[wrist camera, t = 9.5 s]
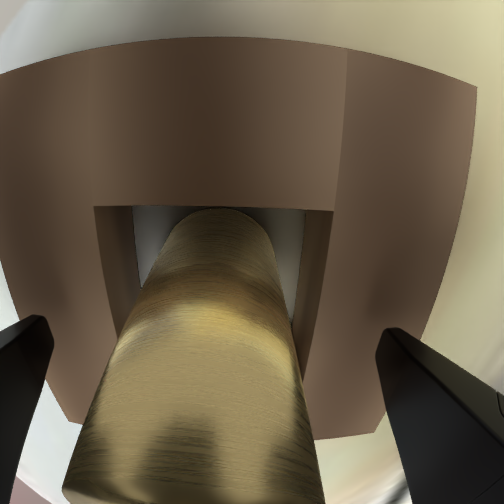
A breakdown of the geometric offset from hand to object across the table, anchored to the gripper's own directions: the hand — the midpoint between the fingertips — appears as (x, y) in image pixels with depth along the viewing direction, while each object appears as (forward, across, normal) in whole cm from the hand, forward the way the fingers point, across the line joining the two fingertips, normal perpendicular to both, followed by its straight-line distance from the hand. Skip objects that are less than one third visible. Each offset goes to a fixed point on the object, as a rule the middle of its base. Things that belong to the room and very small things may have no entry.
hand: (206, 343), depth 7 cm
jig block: (+4, 0, 0) cm, 4 cm away
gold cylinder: (+4, 0, 0) cm, 4 cm away
